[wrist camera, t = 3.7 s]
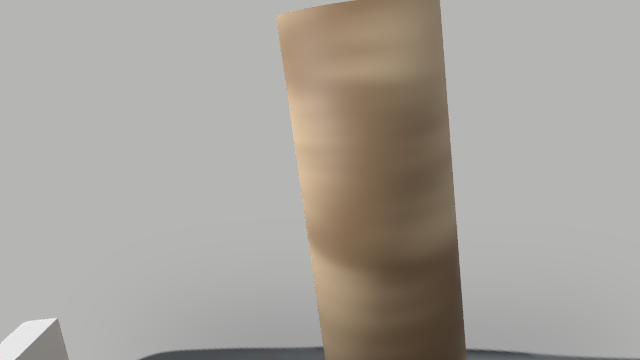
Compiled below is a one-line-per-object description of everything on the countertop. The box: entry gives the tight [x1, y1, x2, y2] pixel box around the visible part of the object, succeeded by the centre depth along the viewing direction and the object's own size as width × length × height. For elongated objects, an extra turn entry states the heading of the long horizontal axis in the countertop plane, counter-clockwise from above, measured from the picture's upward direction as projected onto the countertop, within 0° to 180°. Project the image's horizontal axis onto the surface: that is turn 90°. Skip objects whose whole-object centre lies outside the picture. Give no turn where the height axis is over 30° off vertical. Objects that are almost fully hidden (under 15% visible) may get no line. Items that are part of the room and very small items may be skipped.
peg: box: [277, 0, 466, 360], centre depth 17 cm, size 5×5×16 cm
